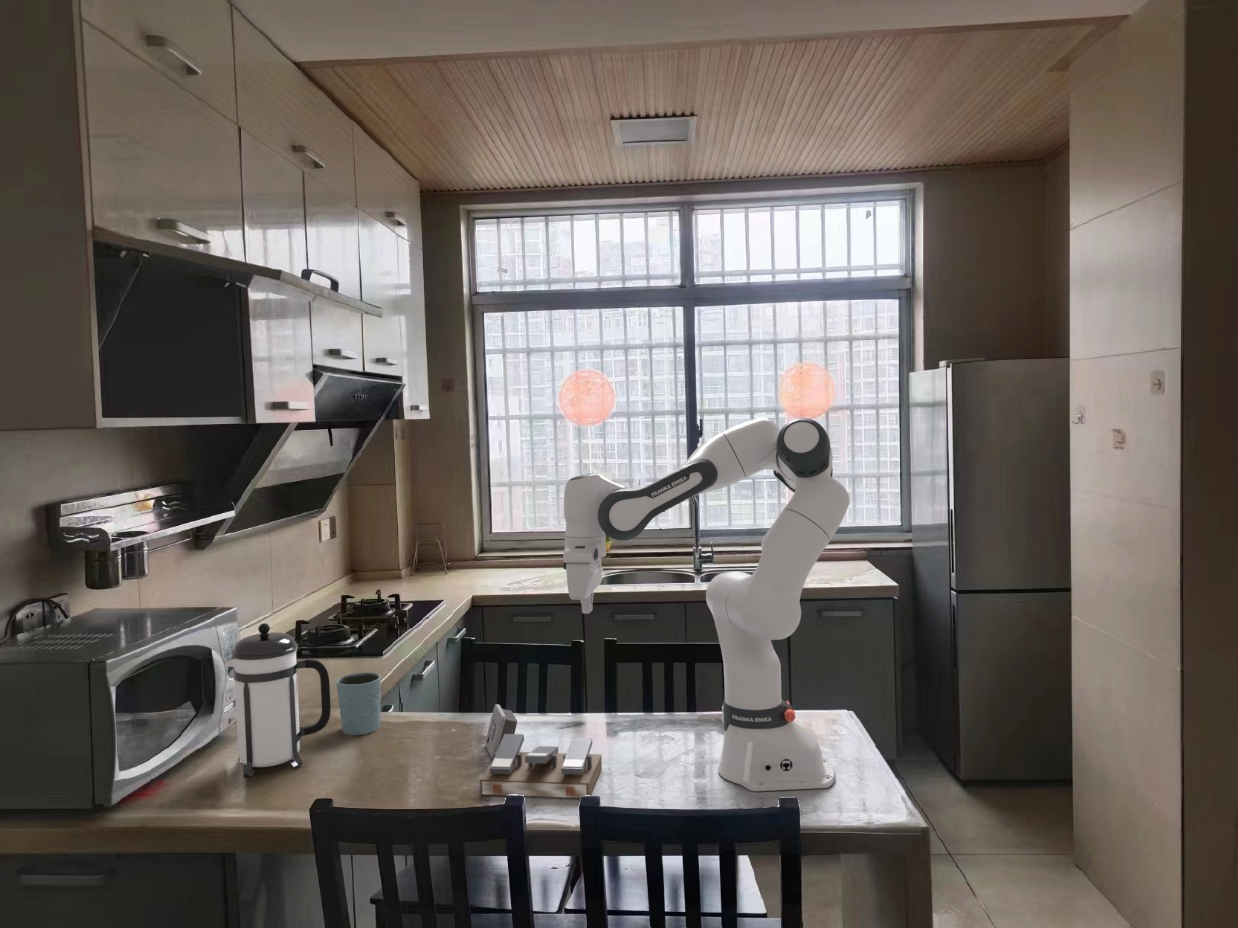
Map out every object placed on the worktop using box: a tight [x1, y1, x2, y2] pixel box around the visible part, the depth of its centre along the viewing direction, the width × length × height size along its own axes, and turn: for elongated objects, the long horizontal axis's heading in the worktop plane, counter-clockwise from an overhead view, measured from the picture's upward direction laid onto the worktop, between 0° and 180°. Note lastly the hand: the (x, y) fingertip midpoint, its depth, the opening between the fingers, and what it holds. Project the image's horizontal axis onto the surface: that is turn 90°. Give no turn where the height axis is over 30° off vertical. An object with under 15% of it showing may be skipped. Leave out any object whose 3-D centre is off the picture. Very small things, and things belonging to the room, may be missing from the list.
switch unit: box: [479, 751, 603, 800], centre depth 168 cm, size 21×14×5 cm
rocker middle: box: [525, 745, 559, 764], centre depth 168 cm, size 4×11×1 cm, turn 172°
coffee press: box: [224, 623, 332, 779], centre depth 181 cm, size 17×16×30 cm
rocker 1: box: [489, 733, 525, 774], centre depth 169 cm, size 4×11×1 cm, turn 172°
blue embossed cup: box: [335, 672, 382, 736], centre depth 201 cm, size 10×10×12 cm
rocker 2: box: [561, 737, 593, 775], centre depth 167 cm, size 4×11×1 cm, turn 172°
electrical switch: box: [484, 704, 518, 760], centre depth 185 cm, size 9×5×9 cm, turn 17°
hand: (587, 612), depth 186 cm, fingers closed
